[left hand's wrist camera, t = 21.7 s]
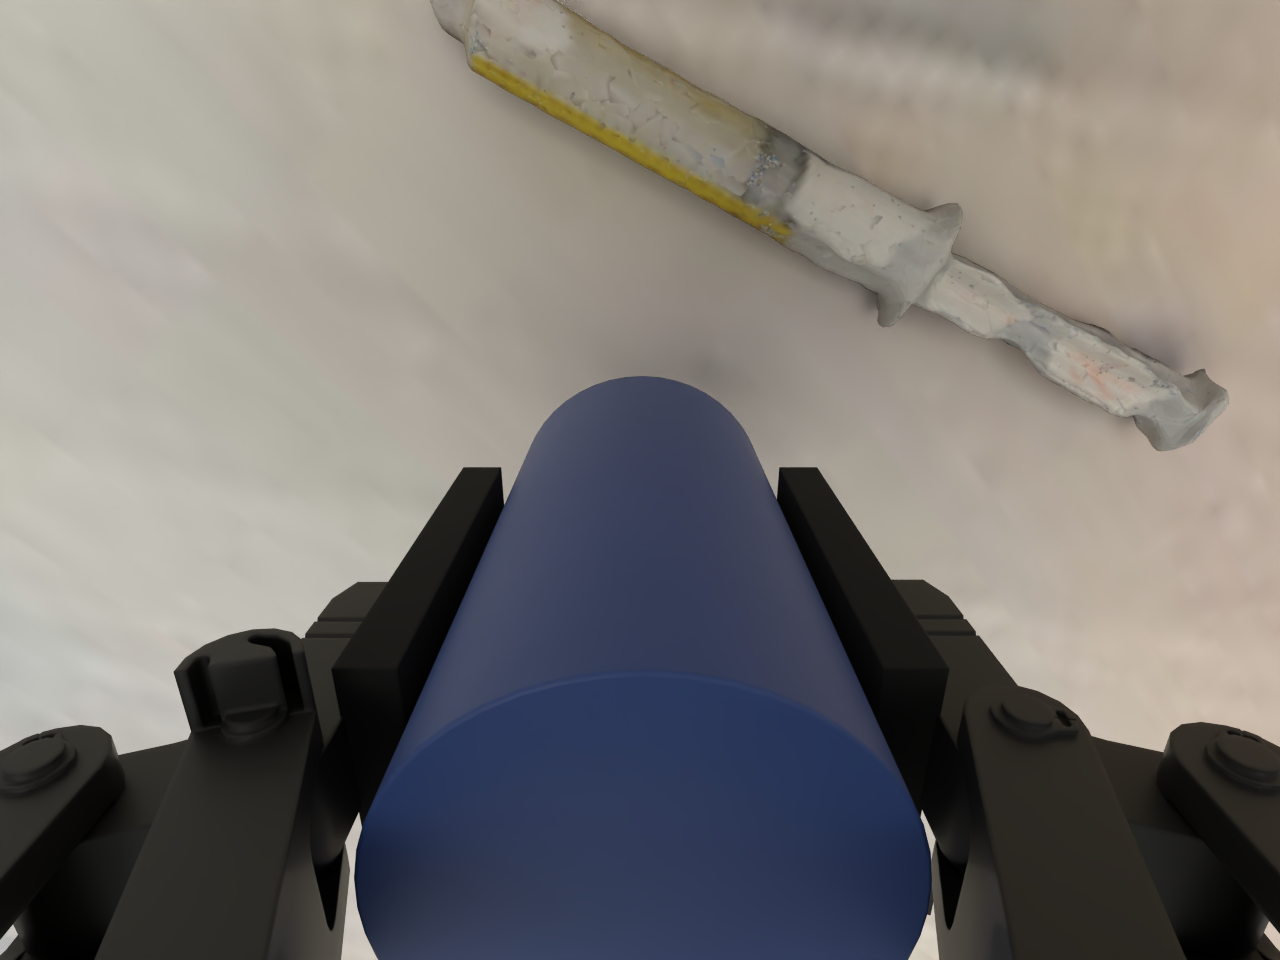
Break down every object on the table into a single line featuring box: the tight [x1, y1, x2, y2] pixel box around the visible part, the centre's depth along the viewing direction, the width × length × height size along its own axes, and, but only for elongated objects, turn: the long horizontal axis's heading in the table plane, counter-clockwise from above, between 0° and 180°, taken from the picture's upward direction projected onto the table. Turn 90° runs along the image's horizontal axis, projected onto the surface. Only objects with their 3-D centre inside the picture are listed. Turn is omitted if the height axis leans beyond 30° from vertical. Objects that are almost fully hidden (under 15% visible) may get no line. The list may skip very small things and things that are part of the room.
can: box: [354, 376, 932, 960], centre depth 12 cm, size 6×6×10 cm
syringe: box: [430, 0, 1229, 451], centre depth 20 cm, size 25×4×3 cm, turn 61°
